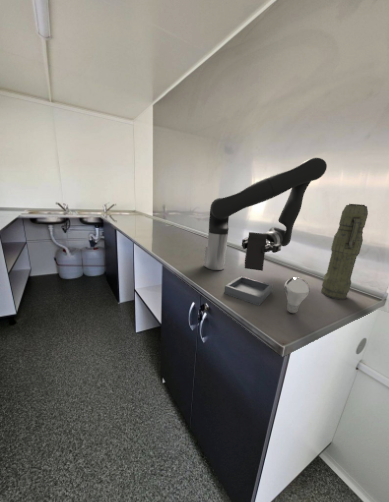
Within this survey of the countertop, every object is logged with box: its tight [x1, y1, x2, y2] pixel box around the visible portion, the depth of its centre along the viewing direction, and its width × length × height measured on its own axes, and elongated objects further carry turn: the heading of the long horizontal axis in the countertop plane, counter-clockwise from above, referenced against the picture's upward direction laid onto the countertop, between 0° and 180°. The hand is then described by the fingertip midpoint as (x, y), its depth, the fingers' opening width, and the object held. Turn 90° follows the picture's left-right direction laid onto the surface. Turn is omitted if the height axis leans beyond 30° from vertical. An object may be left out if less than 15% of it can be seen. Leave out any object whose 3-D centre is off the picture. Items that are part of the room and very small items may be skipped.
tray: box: [223, 275, 273, 306], centre depth 80 cm, size 13×14×3 cm
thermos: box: [320, 203, 369, 301], centre depth 80 cm, size 9×12×35 cm
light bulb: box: [283, 276, 310, 315], centre depth 66 cm, size 7×7×12 cm
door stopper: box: [244, 231, 267, 272], centre depth 76 cm, size 9×6×12 cm, turn 167°
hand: (253, 248), depth 74 cm, fingers closed on door stopper, 6 cm apart
